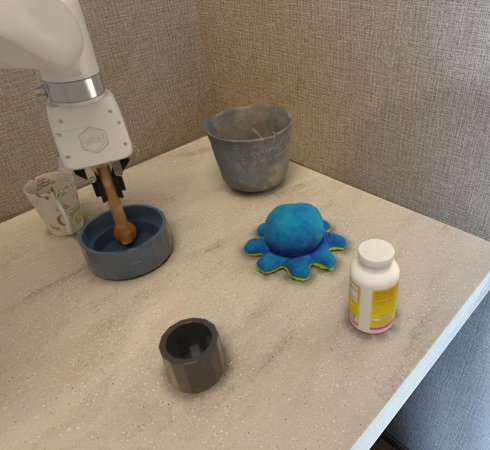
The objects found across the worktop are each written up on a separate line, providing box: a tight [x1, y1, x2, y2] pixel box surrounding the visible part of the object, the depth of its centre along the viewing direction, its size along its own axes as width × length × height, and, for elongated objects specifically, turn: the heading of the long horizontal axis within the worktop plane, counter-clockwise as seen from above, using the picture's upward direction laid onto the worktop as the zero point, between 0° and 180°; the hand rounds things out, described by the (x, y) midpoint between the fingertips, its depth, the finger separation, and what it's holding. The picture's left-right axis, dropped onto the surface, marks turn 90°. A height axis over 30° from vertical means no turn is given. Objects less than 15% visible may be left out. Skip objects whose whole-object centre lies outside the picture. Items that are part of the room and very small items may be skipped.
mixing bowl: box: [77, 203, 173, 281], centre depth 77 cm, size 14×14×6 cm
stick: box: [95, 163, 133, 244], centre depth 74 cm, size 2×2×14 cm
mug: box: [23, 171, 85, 237], centre depth 82 cm, size 8×13×10 cm, turn 40°
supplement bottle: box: [348, 238, 401, 335], centre depth 61 cm, size 7×7×13 cm
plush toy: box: [243, 202, 348, 282], centre depth 76 cm, size 17×17×8 cm
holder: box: [158, 317, 225, 394], centre depth 57 cm, size 7×7×6 cm
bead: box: [113, 222, 137, 243], centre depth 79 cm, size 4×4×4 cm
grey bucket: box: [202, 104, 295, 193], centre depth 91 cm, size 18×18×15 cm
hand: (112, 195), depth 74 cm, fingers closed on stick, 2 cm apart
